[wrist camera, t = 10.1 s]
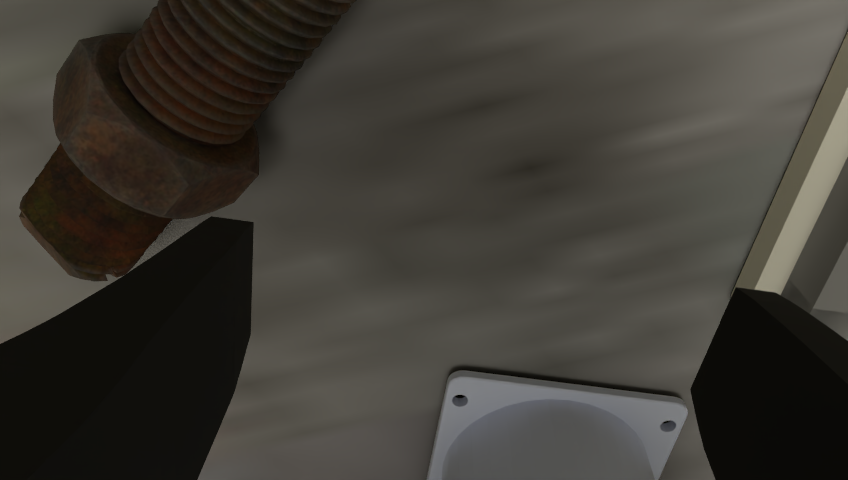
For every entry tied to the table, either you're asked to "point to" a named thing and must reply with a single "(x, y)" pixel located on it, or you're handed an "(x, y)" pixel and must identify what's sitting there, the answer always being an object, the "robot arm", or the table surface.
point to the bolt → (163, 124)
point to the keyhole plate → (811, 215)
